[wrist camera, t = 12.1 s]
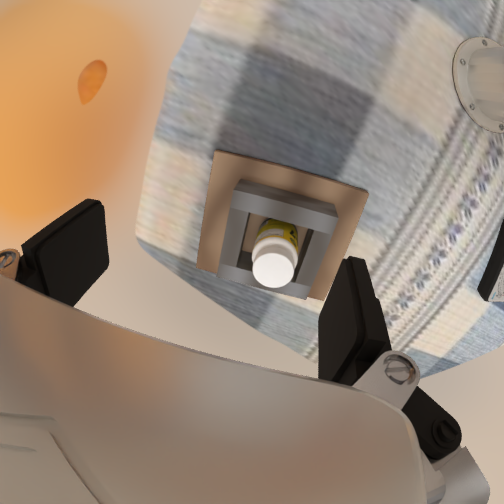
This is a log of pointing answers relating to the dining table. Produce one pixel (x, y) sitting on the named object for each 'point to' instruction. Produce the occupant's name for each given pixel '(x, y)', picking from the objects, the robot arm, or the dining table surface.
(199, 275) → the dining table surface
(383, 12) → the dining table surface
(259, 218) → the pocket board
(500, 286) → the multimeter
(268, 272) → the supplement bottle
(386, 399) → the robot arm
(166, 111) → the dining table surface
